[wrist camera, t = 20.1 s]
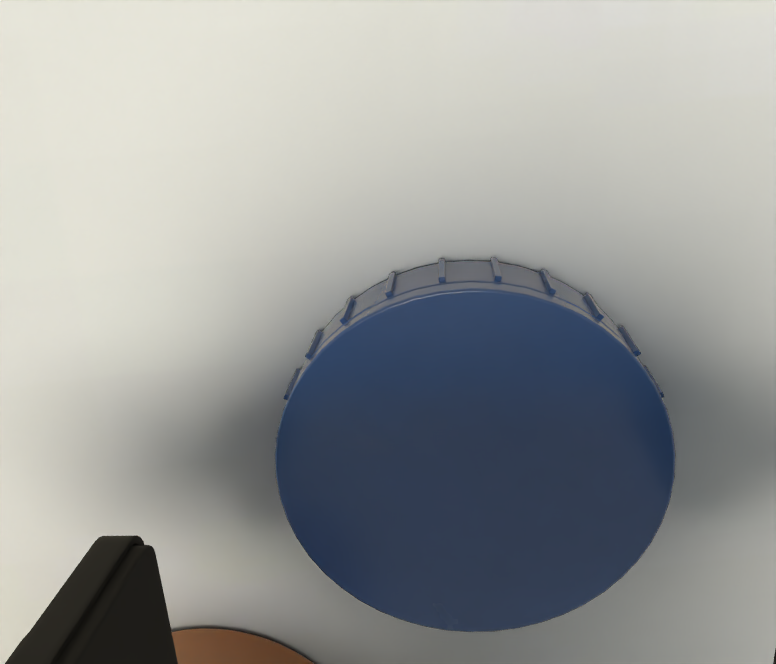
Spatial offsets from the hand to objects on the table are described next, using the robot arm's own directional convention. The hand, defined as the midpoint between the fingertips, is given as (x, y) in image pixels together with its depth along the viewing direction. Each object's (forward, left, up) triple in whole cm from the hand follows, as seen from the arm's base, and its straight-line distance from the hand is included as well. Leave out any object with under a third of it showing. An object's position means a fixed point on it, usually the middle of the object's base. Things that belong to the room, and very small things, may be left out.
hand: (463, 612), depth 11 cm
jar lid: (+1, 0, -3) cm, 3 cm away
